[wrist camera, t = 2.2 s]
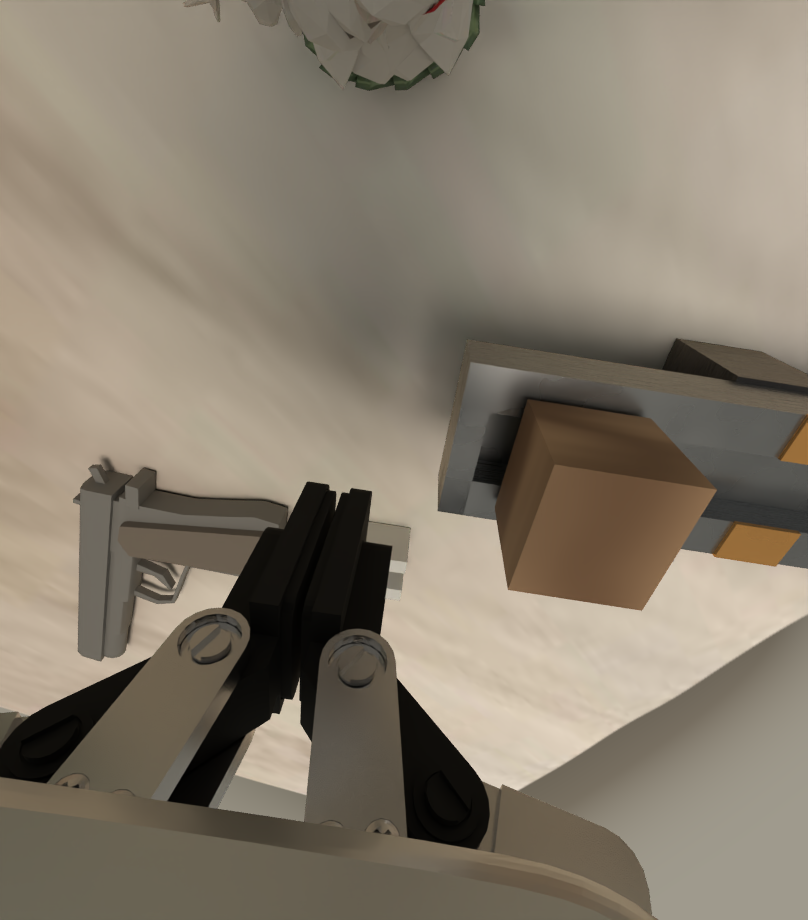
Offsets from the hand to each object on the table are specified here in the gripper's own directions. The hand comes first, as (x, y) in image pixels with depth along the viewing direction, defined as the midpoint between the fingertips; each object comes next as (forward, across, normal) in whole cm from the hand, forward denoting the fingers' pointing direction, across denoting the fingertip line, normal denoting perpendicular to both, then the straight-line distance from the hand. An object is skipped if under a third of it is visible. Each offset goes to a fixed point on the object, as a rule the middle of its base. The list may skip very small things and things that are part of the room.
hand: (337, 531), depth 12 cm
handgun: (+13, +13, +18) cm, 26 cm away
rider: (+6, -7, -1) cm, 9 cm away
